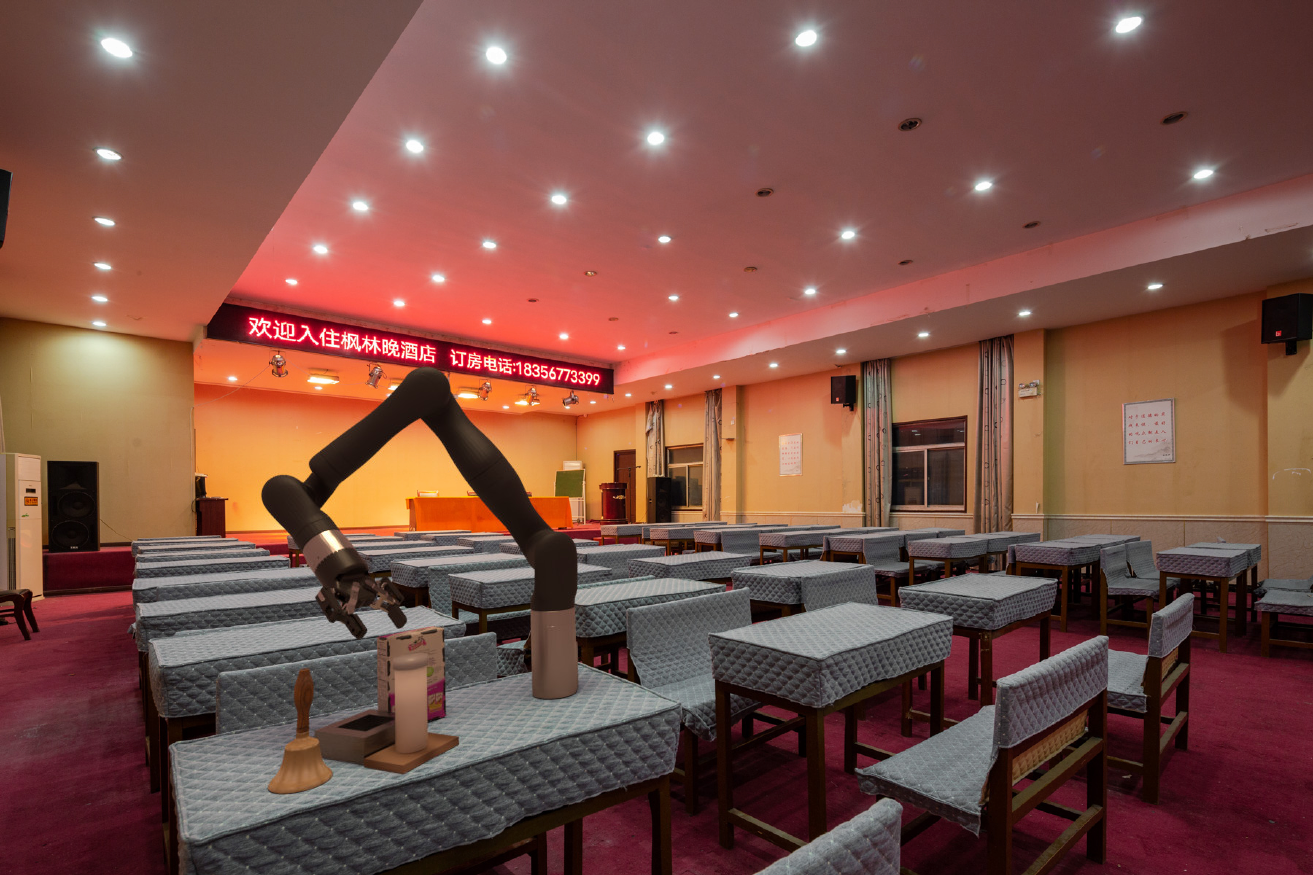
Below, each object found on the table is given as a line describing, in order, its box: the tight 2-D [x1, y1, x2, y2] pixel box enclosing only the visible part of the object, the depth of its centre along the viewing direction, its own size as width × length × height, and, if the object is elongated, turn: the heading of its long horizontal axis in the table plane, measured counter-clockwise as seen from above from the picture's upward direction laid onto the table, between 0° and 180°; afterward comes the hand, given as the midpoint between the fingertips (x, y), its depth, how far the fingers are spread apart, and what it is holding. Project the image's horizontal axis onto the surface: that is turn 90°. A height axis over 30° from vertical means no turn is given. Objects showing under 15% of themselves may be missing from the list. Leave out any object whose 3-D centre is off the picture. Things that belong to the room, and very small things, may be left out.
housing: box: [313, 708, 395, 766], centre depth 104 cm, size 11×11×4 cm
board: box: [363, 731, 460, 775], centre depth 100 cm, size 12×8×1 cm, turn 156°
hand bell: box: [267, 667, 334, 795], centre depth 93 cm, size 8×8×16 cm
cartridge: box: [393, 653, 429, 754], centre depth 101 cm, size 5×5×14 cm
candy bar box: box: [376, 625, 447, 723], centre depth 116 cm, size 11×5×16 cm, turn 138°
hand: (383, 630), depth 106 cm, fingers open, 8 cm apart
